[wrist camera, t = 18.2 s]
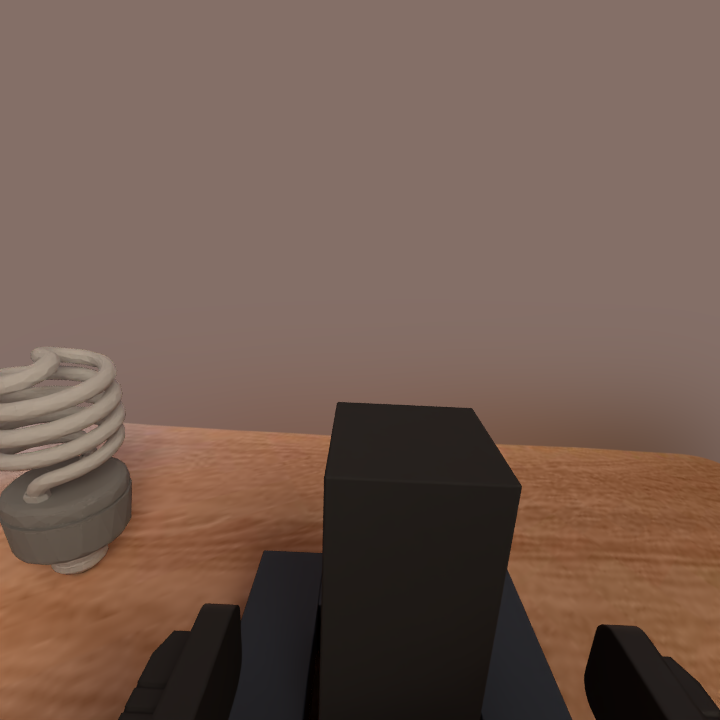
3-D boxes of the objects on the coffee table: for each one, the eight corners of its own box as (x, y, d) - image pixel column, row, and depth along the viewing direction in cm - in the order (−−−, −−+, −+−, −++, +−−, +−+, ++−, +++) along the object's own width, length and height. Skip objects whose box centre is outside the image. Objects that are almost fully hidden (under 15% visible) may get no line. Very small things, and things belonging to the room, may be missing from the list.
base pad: (497, 601, 21) (504, 560, 20) (656, 1037, 9) (685, 979, 9) (264, 590, 21) (263, 549, 20) (143, 1013, 9) (130, 954, 9)
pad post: (437, 670, 17) (472, 407, 14) (462, 819, 13) (523, 486, 9) (328, 665, 17) (336, 401, 14) (316, 812, 13) (323, 476, 9)
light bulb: (111, 614, 19) (71, 369, 16) (-18, 617, 19) (-88, 366, 15) (159, 531, 24) (137, 336, 21) (61, 532, 24) (22, 333, 21)
